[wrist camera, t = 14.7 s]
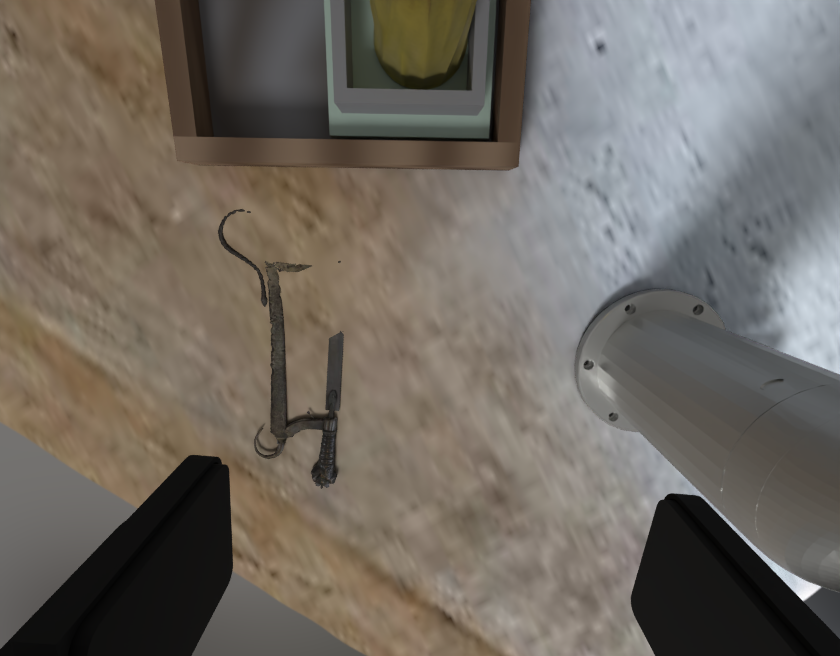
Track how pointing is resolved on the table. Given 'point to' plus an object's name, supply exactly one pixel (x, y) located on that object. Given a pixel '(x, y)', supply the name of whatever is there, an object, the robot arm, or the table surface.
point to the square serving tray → (395, 104)
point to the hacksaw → (325, 466)
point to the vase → (421, 39)
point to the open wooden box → (306, 90)
